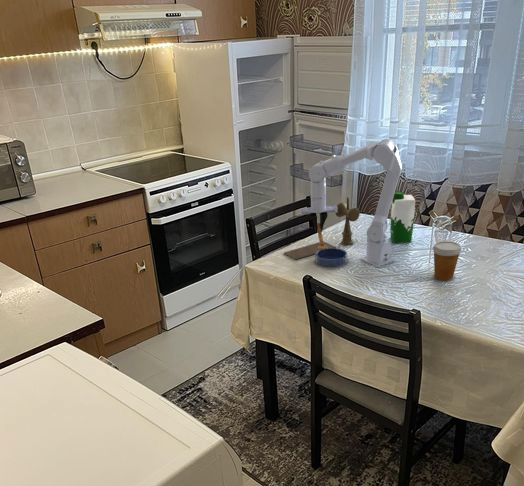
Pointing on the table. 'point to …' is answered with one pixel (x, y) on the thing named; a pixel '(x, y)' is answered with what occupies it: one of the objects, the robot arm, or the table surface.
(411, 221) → the milk carton
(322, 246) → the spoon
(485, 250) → the table surface
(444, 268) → the disposable coffee cup
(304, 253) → the board
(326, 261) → the bowl
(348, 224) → the kendama
